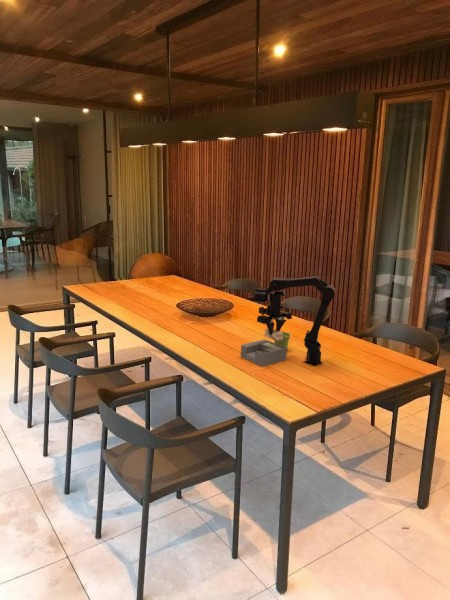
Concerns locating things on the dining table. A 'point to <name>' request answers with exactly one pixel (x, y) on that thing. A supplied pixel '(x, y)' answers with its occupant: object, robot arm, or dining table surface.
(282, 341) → the plant pot
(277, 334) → the maple block
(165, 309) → the dining table surface
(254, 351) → the jig board
